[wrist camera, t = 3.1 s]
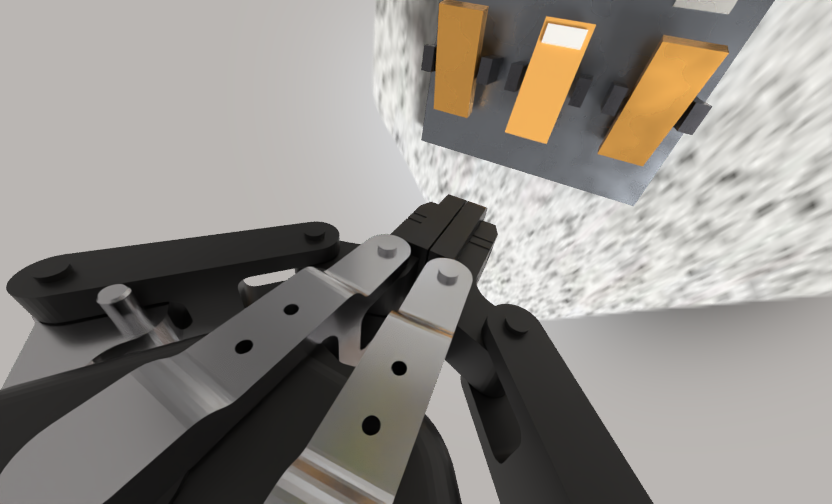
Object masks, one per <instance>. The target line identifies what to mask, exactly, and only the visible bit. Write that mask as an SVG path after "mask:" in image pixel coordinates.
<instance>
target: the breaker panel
mask: <svg viewBox="0 0 832 504" xmlns="http://www.w3.org/2000/svg"><path fill="white" fill-rule="evenodd" d="M774 1H775V0H442V2H440V3H439V16H438V31H437V38H436V44H430V45H424V53H423V61H422V68H421V70H424V71H428V72H431V79H430V85H429V92H428V99H427V106H426V112H425V119H424V126H423V133H422V139H421V140H422V141H425V142H429V143H432V144H435V145H438V146H442V147H445V148H448V149H451V150H454V151H458V152H461V153H464V154H467V155H471V156H474V157H477V158H480V159H483V160H487V161H490V162H493V163H496V164H500V165H503V166H506V167H509V168H512V169H516V170H519V171H522V172H525V173H529V174H532V175H535V176H538V177H542V178H545V179H548V180H551V181H554V182H558V183H561V184H564V185H567V186H571V187H574V188H577V189H580V190H583V191H587V192H590V193H593V194H596V195H600V196H603V197H606V198H609V199H612V200H616V201H619V202H622V203H625V204H629V205H632V206H634V205H635V203H636V202H637V200H638V199H639V197H640V196H641V195H642V193H643V192H644V190H645V189H646V187H647V186H648V184H649V183H650V181H651V180H652V178H653V177H654V176H655V174H656V173H657V171H658V170H659V168H660V167H661V165H662V164H663V162H664V161H665V160H666V158H667V157H668V155H669V154H670V152H671V151H672V149H673V148H674V146H675V145H676V144H677V142H678V141H679V139H680V138H681V136H682V135H683V133H686V134H690V135H693V133H694V132H695V130H696V129H697V127H698V126H699V125H700V123H701V122H702V120H703V119H704V118H705V116H706V115H707V113H708V112H709V111H710V109H711V108H712V106H711V105H709V104H707V103H706V102H705V101H706V100H707V98H708V97H709V95H710V94H711V92H712V91H713V90H714V88H715V87H716V85H717V84H718V82H719V81H720V79H721V78H722V76H723V75H724V74H725V72H726V71H727V69H728V68H729V66H730V65H731V63H732V62H733V60H734V59H735V58H736V56H737V55H738V53H739V52H740V50H741V49H742V47H743V46H744V44H745V43H746V41H747V40H748V39H749V37H750V36H751V34H752V33H753V31H754V30H755V28H756V27H757V25H758V24H759V23H760V21H761V20H762V18H763V17H764V15H765V14H766V12H767V11H768V9H769V8H770V6H771V5H772V4H773V2H774ZM546 16H548V17H554V18H560V19H566V20H572V21H578V22H584V23H590V24H596V26H595V29H594V32H593V34H592V36H591V39H590V41H589V44H588V46H587V48H586V51H585V53H584V56H583V58H582V60H581V63H580V65H579V68H578V70H577V72H576V75H575V77H574V80H573V82H572V84H571V87H570V89H569V91H568V94H567V96H566V99H565V101H564V103H563V106H562V108H561V111H560V113H559V115H558V118H557V120H556V123H555V125H554V127H553V130H552V132H551V135H550V137H549V139H548V142H547V144H544V143H540V142H537V141H533V140H530V139H526V138H522V137H519V136H515V135H512V134H508V133H506V132H505V130H506V127H507V124H508V121H509V119H510V116H511V113H512V110H513V107H514V105H515V102H516V99H517V96H518V94H519V91H520V88H521V85H522V82H523V80H524V77H525V74H526V71H527V68H528V66H529V63H530V60H531V57H532V55H533V52H534V49H535V46H536V43H537V41H538V38H539V35H540V32H541V29H542V27H543V24H544V21H545V18H546Z"/></svg>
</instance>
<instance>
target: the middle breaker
mask: <svg viewBox="0 0 832 504" xmlns="http://www.w3.org/2000/svg"><path fill="white" fill-rule="evenodd" d="M595 26H596V24H590V23H584V22H578V21H572V20H566V19H560V18H554V17H548V16H546V18H545V21H544V24H543V27H542V29H541V32H540V35H539V38H538V41H537V43H536V46H535V49H534V52H533V55H532V57H531V60H530V63H529V66H528V68H527V71H526V74H525V77H524V80H523V82H522V85H521V88H520V91H519V94H518V96H517V99H516V102H515V105H514V107H513V110H512V113H511V116H510V119H509V121H508V124H507V127H506V130H505V132H506V133H508V134H512V135H515V136H519V137H522V138H526V139H530V140H533V141H537V142H540V143H544V144H547V142H548V139H549V137H550V135H551V132H552V130H553V127H554V125H555V123H556V120H557V118H558V115H559V113H560V111H561V108H562V106H563V103H564V101H565V99H566V96H567V94H568V91H569V89H570V87H571V84H572V82H573V80H574V77H575V75H576V72H577V70H578V68H579V65H580V63H581V60H582V58H583V56H584V53H585V51H586V48H587V46H588V44H589V41H590V39H591V36H592V34H593V32H594V29H595Z"/></svg>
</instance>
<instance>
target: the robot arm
mask: <svg viewBox="0 0 832 504" xmlns="http://www.w3.org/2000/svg"><path fill="white" fill-rule="evenodd" d="M486 212H487V208H486V207H483V206H481V205H478V204H475V203H472V202H469V201H468V202H467V201H466V200H463V199H461V198H458V197H455V196H452V195H449V194H448V195H447V196H446V197H445V198H444V199H443V200H442V201H441V203H440V204H436V203H433V202H429V203H426V204H423V205H421V206H419V207H418V208H417V209H416V210H415V211H414V213H412V214H411V215H410V216H409V217H408V219H406V220H405V221H404V222H403V223H402V224H401V225H400V226H399V227H398V228H397V229H396V230H394V231H393V232H392V233H391V234H390V235H389V234H381V235H376V236H373V237H371V238H369V239H368V240H366V241H365V242H364V243H362V244H355V243H349V242H344V241H339V232H338V230H337V229H336V228H335V227H334V226H332V225H330V224H328V223H324V222H307V223H300V224H292V225H284V226H277V227H270V228H262V229H254V230H246V231H239V232H231V233H223V234H216V235H208V236H201V237H194V238H186V239H178V240H171V241H163V242H155V243H148V244H140V245H133V246H125V247H117V248H110V249H103V250H94V251H88V252H79V253H72V254H64V255H59V256H54V257H50V258H47V259H44V260H41V261H38V262H36V263H33V264H31V265H29V266H27V267H25V268H24V269H22V270H21V271H19V272H17V273H16V274H15V275H14V276H13V277H12V278H11V279H10V280H9V281H8V283H7V287H6V289H7V291H8V293H9V294H10V295H11V296H12V297H13V298H14V299H15V300H16V301H17V302H19V303H20V304H21V305H22V306H23V307H24V308H25V309H26V310H27V311H28V312H29V313H30V314H31V315H32V318H33V320H34V321H35V325H34V327H33V329H32V331H31V333H30V335H29V337H28V339H27V341H26V343H25V345H24V347H23V349H22V350H21V353H20V354H19V356H18V358H17V360H16V362H15V364H14V366H13V368H12V369H11V372H10V373H9V375H8V377H7V379H6V381H5V383H4V385H3V387H2V389H1V390H0V504H462V503H461V498H460V493H459V489H458V484H457V480H456V475H455V471H454V467H453V463H452V461H451V458H450V455H449V452H448V449H447V447H446V445H445V443H444V441H443V439H442V437H441V435H440V434H439V432H438V430H437V429H436V427H435V426H434V424H433V423H432V422H431V420H430V419H429V418H428V417H427V416H426V415H425V412H426V409H427V406H428V404H429V401H430V398H431V396H432V393H433V390H434V387H435V384H436V382H437V379H438V376H439V373H440V371H441V368H442V365H443V362H444V360H446V361H447V362H448V363H449V364H450V365H451V366H452V367H453V368H454V369H455V370H456V371H457V372H458V373H459V374H460V375H461V384H462V388H463V391H464V394H465V397H466V400H467V403H468V407H469V410H470V413H471V416H472V419H473V421H474V425H475V428H476V431H477V434H478V437H479V440H480V443H481V446H482V449H483V452H484V455H485V458H486V461H487V464H488V467H489V470H490V473H491V476H492V480H493V483H494V485H495V489H496V492H497V495H498V498H499V501H500V504H653V502H652V500H651V499H650V497H649V496H648V494H647V492H646V491H645V490H644V488H643V486H642V485H641V483H640V481H639V480H638V478H637V477H636V475H635V474H634V472H633V470H632V469H631V467H630V465H629V464H628V462H627V461H626V459H625V457H624V456H623V454H622V453H621V451H620V449H619V448H618V446H617V445H616V443H615V442H614V440H613V438H612V437H611V435H610V434H609V432H608V430H607V429H606V427H605V426H604V424H603V423H602V421H601V419H600V418H599V416H598V414H597V413H596V411H595V410H594V408H593V407H592V405H591V403H590V402H589V400H588V399H587V397H586V395H585V394H584V392H583V391H582V389H581V387H580V386H579V384H578V383H577V381H576V379H575V378H574V376H573V375H572V373H571V372H570V370H569V368H568V367H567V365H566V363H565V362H564V360H563V359H562V357H561V356H560V354H559V353H558V351H557V349H556V348H555V346H554V344H553V343H552V341H551V340H550V338H549V337H548V335H547V333H546V332H545V330H544V328H543V327H542V325H541V324H540V322H539V321H538V320H537V319H536V317H535V316H534V315H532V314H531V313H530V312H528V311H527V310H525V309H523V308H521V307H519V306H516V305H512V304H500V305H497V306H494V305H493V304H492V303H490V302H489V301H488V300H487V299H485V298H484V296H483V295H482V294H481V293H480V291H479V289H478V287H477V283H478V281H479V279H480V277H481V274H482V272H483V270H484V268H485V266H486V263H487V261H488V258H489V256H490V253H491V251H492V248H493V245H494V243H495V240H496V238H497V235H498V234H497V229H496V225H493V224H490V223H488V222H485V221H484V218H485V215H486ZM293 268H295V275H293V276H292V277H291V278H289V279H288V280H286V281H281V282H276V283H271V284H266V285H261V286H249V285H247V284H246V283H245V282H244V281H243V279H245V278H248V277H251V276H257V275H262V274H267V273H272V272H278V271H283V270H288V269H293Z"/></svg>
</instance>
